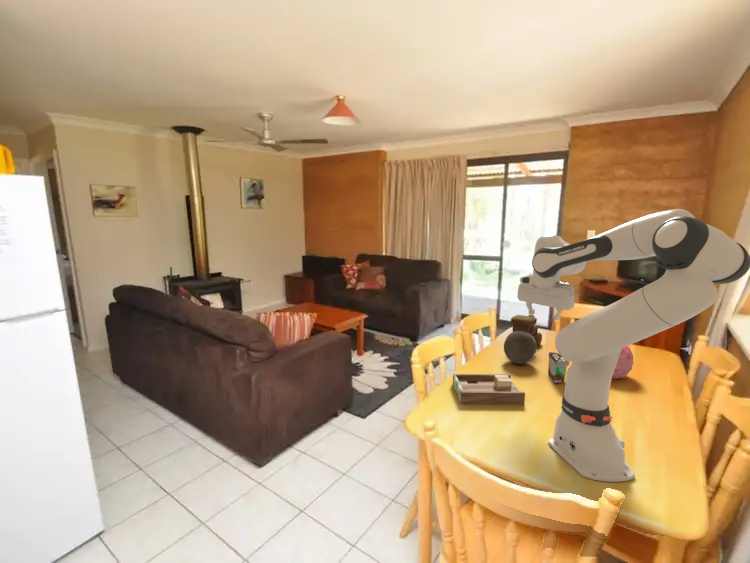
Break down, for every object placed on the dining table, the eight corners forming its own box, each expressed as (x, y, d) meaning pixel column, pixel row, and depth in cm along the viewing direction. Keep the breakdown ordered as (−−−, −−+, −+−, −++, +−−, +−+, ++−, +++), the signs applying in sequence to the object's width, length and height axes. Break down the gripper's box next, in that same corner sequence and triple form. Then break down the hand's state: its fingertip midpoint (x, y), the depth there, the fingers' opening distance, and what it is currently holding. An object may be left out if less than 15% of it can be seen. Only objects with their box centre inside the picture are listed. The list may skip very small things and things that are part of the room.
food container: (571, 386, 146) (573, 363, 144) (555, 385, 147) (557, 362, 145) (562, 374, 158) (564, 352, 156) (547, 373, 159) (549, 351, 157)
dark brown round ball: (532, 371, 161) (535, 339, 158) (499, 364, 168) (501, 333, 165) (537, 360, 172) (539, 330, 170) (506, 355, 180) (508, 326, 177)
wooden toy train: (529, 353, 182) (531, 321, 179) (507, 348, 189) (509, 317, 186) (543, 343, 196) (545, 314, 193) (522, 339, 204) (524, 310, 201)
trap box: (524, 404, 132) (525, 392, 131) (461, 403, 132) (461, 392, 132) (509, 384, 148) (509, 374, 147) (452, 384, 148) (453, 373, 147)
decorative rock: (595, 351, 169) (594, 330, 161) (632, 354, 161) (633, 332, 153) (593, 385, 158) (591, 364, 150) (633, 390, 150) (634, 368, 142)
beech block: (511, 390, 137) (511, 381, 136) (497, 390, 137) (498, 380, 136) (506, 384, 142) (507, 375, 141) (493, 384, 142) (494, 375, 141)
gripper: (579, 283, 125) (576, 321, 127) (525, 275, 142) (523, 309, 144) (570, 285, 121) (566, 324, 124) (516, 277, 138) (514, 312, 140)
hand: (543, 316), depth 134 cm, fingers open, 8 cm apart
